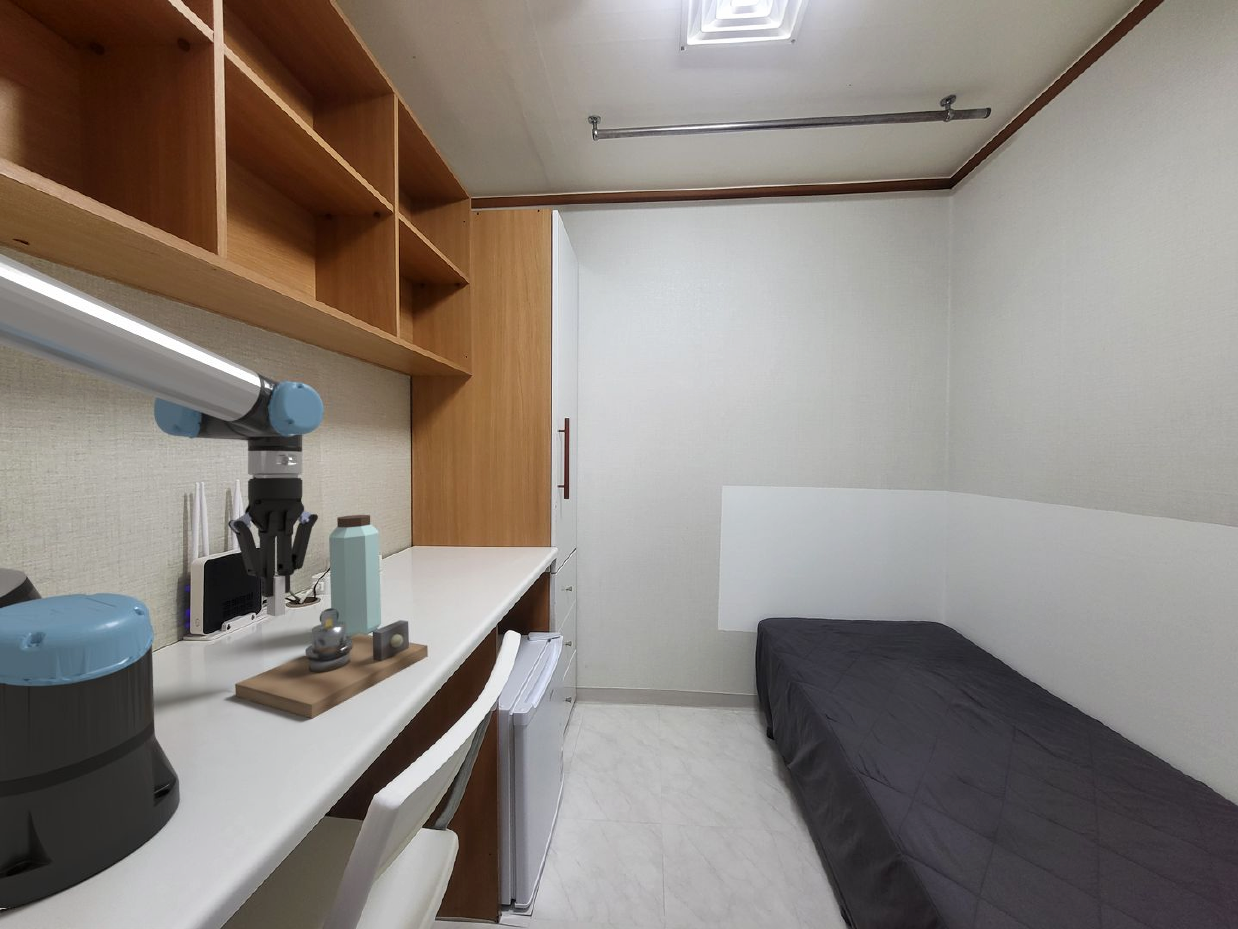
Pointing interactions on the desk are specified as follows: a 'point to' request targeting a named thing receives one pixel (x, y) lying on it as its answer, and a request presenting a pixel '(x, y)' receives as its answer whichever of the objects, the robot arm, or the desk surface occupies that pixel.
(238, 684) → the rotary lever board
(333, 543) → the water bottle
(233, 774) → the desk surface
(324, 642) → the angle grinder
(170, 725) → the desk surface
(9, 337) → the robot arm
